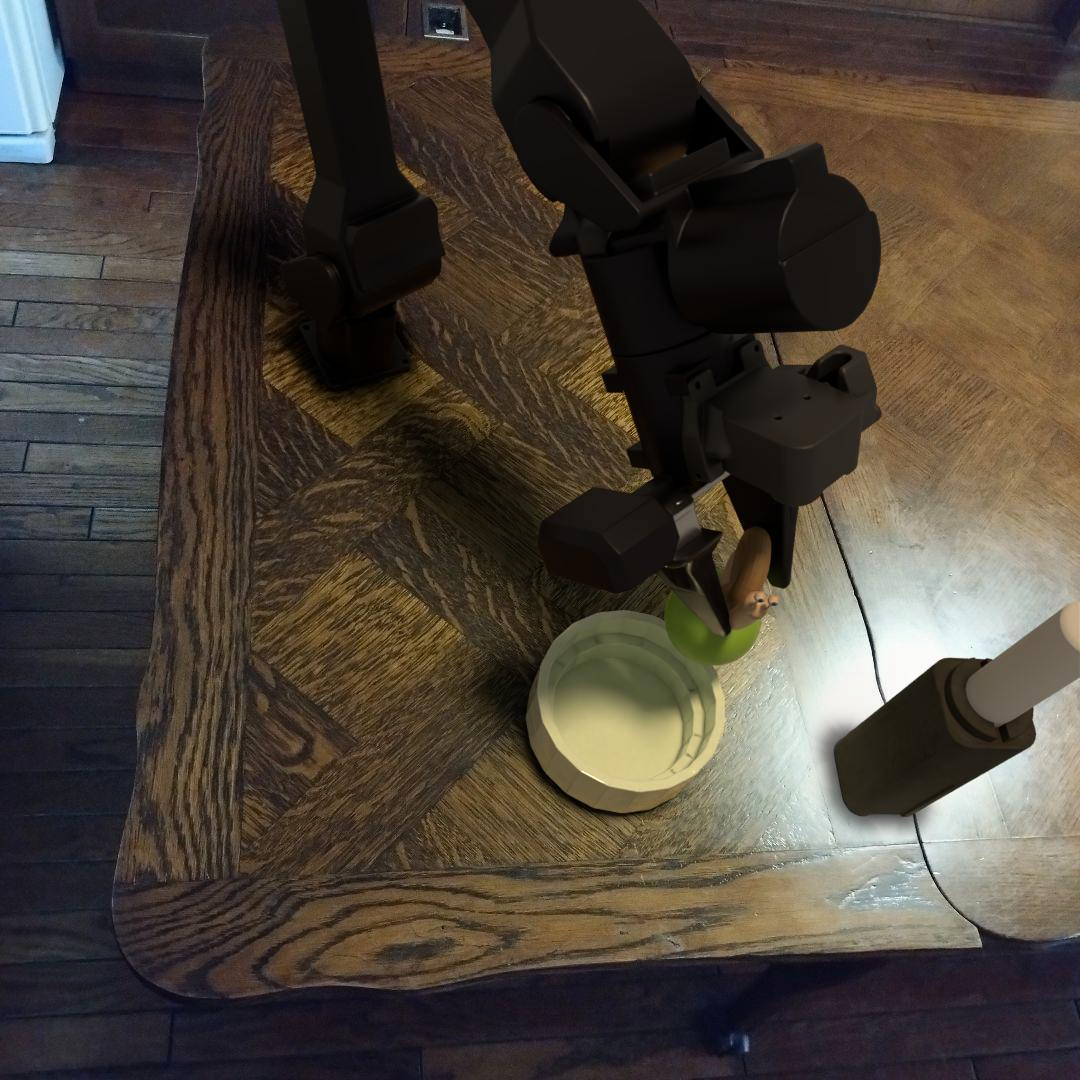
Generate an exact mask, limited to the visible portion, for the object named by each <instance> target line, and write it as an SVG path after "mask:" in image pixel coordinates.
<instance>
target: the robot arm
mask: <svg viewBox="0 0 1080 1080" xmlns="http://www.w3.org/2000/svg"><path fill="white" fill-rule="evenodd" d="M461 1H462V2H463V5H464V6H465V7H466V9H467V10H468V12H469V14H470V15H471V17H472V19H473V21H474V22H475V24H476V26H477V27H478V29H479V31H480V34H481V36H482V38H483V40H484V42H485V44H486V46H487V48H488V51H489V53H490V80H491V81H490V88H491V89H490V90H491V105H492V107H493V110H494V112H495V114H496V116H497V118H498V120H499V122H500V125H501V126H502V128H503V131H504V132H505V134H506V137H507V138H508V140H509V143H510V145H511V147H512V148H513V151H514V153H515V155H516V158H517V161H518V162H519V165H520V167H521V169H522V170H523V172H524V174H526V176H527V178H528V180H529V181H530V183H531V184H532V185H533V186H534V187H535V189H536V191H538V192H539V193H540V194H541V195H542V196H543V197H544V198H545V199H546V200H548V201H549V202H550V203H556V202H559V203H561V204H563V205H564V209H563V213H562V218H561V219H560V222H559V224H558V226H557V228H556V229H555V231H554V232H553V235H552V238H551V240H550V242H549V244H548V252H549V253H550V255H551V256H552V257H553V258H557V259H558V258H564V257H571V256H579V257H580V262H581V264H582V268H583V271H584V274H585V277H586V279H587V283H588V286H589V289H590V293H591V296H592V298H593V301H594V304H595V307H596V310H597V313H598V317H599V320H600V323H601V326H602V329H603V332H604V335H605V338H606V342H607V344H608V348H609V350H610V354H611V357H612V360H613V364H614V365H613V366H611V367H609V368H608V369H606V370H604V371H603V372H601V373H600V376H601V379H602V382H603V385H604V389H605V392H606V393H607V394H624V397H625V400H626V404H627V406H628V409H629V412H630V415H631V419H632V422H633V424H634V427H635V430H636V433H637V437H638V441H637V442H635V443H634V444H632V445H630V446H629V447H627V448H626V449H625V451H626V454H627V457H628V461H629V463H630V466H631V468H635V469H643V470H648V471H649V472H650V475H651V477H652V479H649V480H648V481H647V482H645V483H644V484H642V485H641V486H639V487H638V488H636V489H635V490H633V491H631V492H627V491H621V490H613V489H608V488H602V487H596V486H592V487H591V488H589V489H587V490H586V491H584V492H582V493H581V494H579V496H577V497H575V498H573V499H572V500H570V501H569V502H568V503H566V504H564V505H563V506H561V507H560V508H558V509H557V510H555V511H554V512H552V513H551V514H549V515H548V516H546V517H544V518H543V519H542V520H541V521H540V524H539V528H538V530H537V532H536V533H537V534H536V548H537V550H538V551H537V552H538V553H539V555H540V559H541V560H542V563H543V565H544V568H545V571H546V574H547V575H549V576H551V577H554V578H558V579H561V580H564V581H568V582H572V583H576V584H579V585H583V586H586V587H589V588H593V589H595V590H599V591H602V592H607V593H609V594H613V595H618V594H623V593H627V592H631V591H634V590H635V589H636V588H638V587H639V586H641V585H643V583H645V582H646V581H647V580H649V579H650V578H651V577H653V576H654V575H655V576H656V577H657V578H658V579H660V581H661V582H663V583H664V585H665V586H667V588H669V589H670V591H671V592H672V591H673V592H674V593H675V594H676V595H677V596H678V598H679V599H680V600H681V601H682V602H683V603H684V604H685V605H686V606H687V607H688V608H689V609H690V610H691V611H692V612H693V613H694V614H695V615H696V616H697V617H698V618H699V619H700V620H701V621H702V622H703V623H704V624H705V625H706V626H707V627H708V628H709V629H710V630H711V631H712V632H713V633H715V634H717V635H721V636H724V637H727V636H728V635H729V634H730V633H731V626H730V623H729V612H728V608H727V605H726V601H725V598H724V594H723V591H722V588H721V584H720V581H719V577H718V574H717V571H716V570H717V568H716V564H715V561H714V557H713V554H714V551H715V549H716V548H717V546H718V545H719V543H720V542H721V539H722V537H723V535H724V532H723V531H722V530H716V529H712V528H706V527H705V528H704V527H701V524H700V521H699V518H698V515H697V512H696V502H695V500H696V499H698V498H699V497H701V496H702V495H704V494H705V493H706V492H707V491H710V489H712V488H713V487H715V486H716V485H717V484H719V483H720V482H721V483H722V486H723V487H724V490H725V492H726V494H727V496H728V498H729V501H730V503H731V505H732V507H733V510H734V512H735V513H736V514H735V515H736V516H737V519H738V522H739V524H740V526H741V528H742V531H743V533H744V532H745V531H746V530H747V529H749V528H751V527H761V528H763V529H765V530H766V531H767V533H768V534H769V536H770V540H771V557H770V565H769V571H768V574H767V578H766V580H767V582H768V583H769V584H770V586H772V587H773V588H778V589H781V590H785V589H787V588H788V587H790V585H791V582H792V581H791V580H792V570H793V561H794V550H795V543H796V542H795V541H796V532H797V523H798V514H799V508H800V507H805V506H808V505H810V504H812V503H814V502H815V501H817V500H818V499H819V498H820V497H821V496H822V493H823V492H824V491H825V490H826V489H828V488H829V487H830V486H832V485H833V484H834V483H835V482H837V481H838V480H840V479H841V478H842V477H844V475H845V476H849V475H851V474H852V473H853V472H854V471H855V470H856V469H857V467H858V464H859V456H860V455H859V454H860V447H861V440H862V439H861V438H862V433H864V432H865V431H866V430H868V429H869V428H870V427H872V426H873V425H874V424H876V423H877V422H878V421H879V420H880V419H881V418H882V416H883V412H882V409H881V407H880V406H879V404H877V396H878V386H877V383H876V380H875V377H874V373H873V371H872V368H871V365H870V362H869V359H868V355H867V353H866V352H865V351H862V350H860V349H858V348H857V349H856V348H854V347H851V346H849V345H845V344H842V343H841V344H838V345H836V346H835V347H833V348H832V349H831V350H829V351H828V352H826V353H825V354H823V355H822V356H820V357H819V358H817V359H816V360H815V361H814V362H813V364H801V363H800V364H799V363H798V364H779V365H777V366H776V367H774V368H772V367H771V364H770V363H769V361H768V359H767V358H766V354H765V350H764V347H763V343H762V342H761V341H760V339H757V338H756V334H786V333H812V332H813V333H814V332H836V331H839V330H842V329H846V328H848V327H849V326H851V325H852V324H853V323H855V322H856V321H857V319H859V318H860V316H861V315H862V314H863V313H864V312H865V310H866V309H867V307H868V305H869V303H870V302H871V301H872V298H873V296H874V292H875V289H876V287H877V284H878V281H879V276H880V270H881V263H882V241H881V240H882V238H881V230H880V224H879V220H878V216H877V214H876V212H875V211H874V210H871V209H870V208H869V205H868V203H867V202H866V199H865V197H864V196H863V194H862V193H861V191H860V190H859V189H858V187H857V186H856V185H855V184H853V182H851V181H850V180H849V179H847V178H846V177H845V176H842V175H838V174H835V173H832V172H830V171H829V168H828V163H827V158H826V154H825V149H824V145H822V143H820V142H819V141H813V142H809V143H804V144H799V145H795V146H793V147H791V148H789V149H786V150H784V151H783V152H780V153H778V154H777V155H774V156H771V157H767V158H765V152H764V150H763V149H762V148H761V146H759V145H758V143H757V142H756V141H755V140H754V139H753V138H752V137H751V135H749V134H748V133H747V132H746V131H745V127H744V126H742V125H741V124H739V123H738V122H737V121H736V120H735V118H733V116H732V115H731V114H730V113H729V112H728V111H727V110H726V109H725V108H724V107H723V106H722V104H721V103H720V102H719V101H718V100H717V99H716V98H715V97H714V96H713V95H712V94H711V92H709V90H708V89H707V88H706V87H705V86H704V85H703V84H702V83H701V82H700V81H699V80H698V78H697V77H696V76H695V74H694V72H693V70H692V67H691V65H690V63H689V61H688V59H687V57H686V56H685V55H684V53H683V52H682V51H681V50H680V48H679V47H678V46H677V45H676V43H675V42H674V41H673V40H672V39H671V37H670V36H669V35H668V34H667V31H665V30H664V29H663V27H662V26H661V25H660V24H659V22H658V21H657V20H656V19H655V17H653V15H652V14H651V12H650V11H648V9H647V8H646V7H645V5H644V4H643V3H642V2H641V1H640V0H461ZM276 3H277V4H276V5H277V8H278V13H279V17H280V21H281V26H282V30H283V34H284V39H285V44H286V47H287V53H288V56H289V60H290V64H291V65H290V66H291V70H292V75H293V78H294V82H295V87H296V91H297V95H298V99H299V103H300V108H301V112H302V117H303V121H304V125H305V130H306V134H307V139H308V144H309V147H310V151H311V155H312V160H313V164H314V165H313V166H314V170H315V176H314V180H313V183H312V187H311V190H310V193H309V195H308V199H307V202H306V205H305V208H304V212H303V215H302V218H301V228H302V235H303V240H304V247H305V252H306V253H304V254H301V255H300V256H297V257H295V258H292V259H290V260H287V261H285V262H283V263H281V264H279V268H280V272H281V277H282V279H283V283H284V287H285V291H286V293H287V294H288V295H289V296H290V297H291V298H292V299H293V301H294V302H295V303H296V304H297V305H298V306H299V307H300V308H301V309H302V310H303V311H304V313H305V314H306V315H307V316H308V317H309V318H310V319H311V320H309V321H305V322H302V323H301V324H300V325H299V334H300V335H301V337H302V339H303V341H304V343H305V345H306V347H307V349H308V351H309V353H310V354H311V355H310V356H312V358H313V360H314V363H315V364H316V366H317V369H318V370H319V372H320V374H321V376H322V377H323V380H324V381H325V383H326V386H327V387H328V388H329V389H330V390H331V391H340V390H343V389H347V388H350V387H353V386H357V385H360V384H364V383H367V382H368V383H369V382H371V381H374V380H378V379H382V378H385V377H388V376H392V375H395V374H399V373H403V372H405V371H406V372H407V371H408V370H410V369H411V368H412V364H413V363H412V359H411V358H410V356H409V353H407V351H406V349H405V347H404V345H403V344H402V342H401V340H400V338H399V336H398V335H397V333H396V323H397V308H398V301H399V300H401V299H404V298H406V297H407V296H409V295H412V294H413V293H416V292H417V291H420V290H422V289H424V288H426V287H428V286H430V285H432V284H433V283H434V281H435V280H436V279H437V277H438V276H440V275H441V272H442V265H443V262H442V261H443V260H442V259H443V257H445V256H446V255H447V253H446V250H445V246H444V245H443V242H442V238H441V233H440V227H439V211H438V206H437V204H436V203H435V201H434V200H433V198H431V197H430V196H427V195H424V194H423V195H422V194H421V193H420V191H419V190H418V189H417V187H415V185H414V184H413V183H412V182H411V180H409V179H408V178H407V176H405V174H404V173H403V172H402V171H401V170H400V168H399V165H398V162H397V159H396V152H395V146H394V140H393V135H392V129H391V123H390V117H389V111H388V106H387V100H386V94H385V87H384V82H383V76H382V71H381V64H380V59H379V53H378V48H377V42H376V35H375V30H374V24H373V18H372V13H371V7H370V1H369V0H276Z"/></svg>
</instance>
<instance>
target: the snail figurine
mask: <svg viewBox="0 0 1080 1080" xmlns="http://www.w3.org/2000/svg"><path fill="white" fill-rule="evenodd" d="M770 557H771V540H770V536H769V534H768V533H767V531H766V530H765V529H763V528H761V527H751V528H749V529H747V530H746V531H745V532H744V531H743V533H742V535H741V536H740V538H739V539H738V542H737V545H736V548H735V549H734V550H733V551H732V552H731V554H730V556H729V557H728V559H727V561H726V564H725V566H724V568H723V570H720V569H716V571H717V574H718V577H719V581H720V584H721V588H722V591H723V594H724V598H725V601H726V605H727V608H728V612H729V623H730V626H731V633H730V634H729V635H728V636H727V637H724V636H721V635H717V634H715V633H713V632H712V631H711V630H710V629H709V628H708V627H707V626H706V625H705V624H704V623H703V622H702V621H701V620H700V619H699V618H698V617H697V616H696V615H695V614H694V613H693V612H692V611H691V610H690V609H689V608H688V607H687V606H686V605H685V604H684V603H683V602H682V601H681V600H680V599H679V598H678V596H677V595H676V594H675V593H674V592H673V591H672V590H671V593H670V594H669V595H668V596H669V597H668V598H667V600H666V605H665V608H664V618H663V619H664V620H663V621H665V627H666V631H667V634H668V637H669V639H670V641H671V642H672V644H673V645H674V647H675V648H676V649H677V650H678V651H679V652H680V653H681V654H682V655H683V656H685V657H686V658H688V659H689V660H691V661H693V662H696V663H699V664H702V665H708V666H713V667H719V666H724V665H728V664H731V663H734V662H736V661H738V660H739V659H741V658H743V657H744V656H745V655H746V654H747V653H749V651H750V650H751V649H752V648H753V646H754V645H755V644H756V641H757V639H758V637H759V635H760V632H761V627H762V619H763V618H764V617H766V615H767V614H768V612H769V609H770V607H776V606H778V605H779V603H780V598H779V597H778V596H777V595H776V594H771V595H769V596H768V597H767V595H766V594H765V592H763V591H762V589H763V588H764V586H765V583H766V581H767V574H768V571H769V565H770Z"/></svg>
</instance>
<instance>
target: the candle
mask: <svg viewBox="0 0 1080 1080" xmlns="http://www.w3.org/2000/svg"><path fill="white" fill-rule="evenodd" d="M1078 679H1080V600H1075V601H1073V602H1070V603H1067V604H1066V605H1065V606H1063V607H1062V608H1060V609H1059V610H1058V611H1057V612H1055V613H1054V614H1052V615H1051V616H1050V617H1049V618H1047V619H1046V620H1044V621H1043V622H1042V623H1041V624H1039V625H1037V626H1036V627H1035V628H1033V629H1032V630H1031V631H1029V633H1027V634H1025V635H1024V636H1023V637H1022V638H1020V639H1019V640H1017V641H1016V642H1014V643H1013V644H1012V645H1011V646H1009V647H1008V648H1006V649H1005V650H1004V651H1002V652H1001V653H1000V654H998V655H997V656H995V658H989V657H985V658H976V657H969V658H968V657H942V658H940V659H938V660H937V661H936V662H934V663H933V664H932V665H931V666H929V668H927V669H925V671H924V672H922V673H921V674H920V675H918V677H916V678H915V679H914V680H912V681H911V682H910V683H908V685H906V686H905V687H904V688H902V689H901V690H900V691H899V692H898V693H896V694H895V695H894V696H892V697H891V698H890V699H889V700H888V701H886V702H885V703H884V704H883V705H881V706H880V707H879V708H878V709H877V710H875V711H874V712H872V713H871V714H870V715H869V716H868V717H867V718H865V719H864V720H863V721H861V722H860V723H859V724H858V725H856V726H855V727H853V729H852V730H850V731H849V732H848V733H847V734H846V735H844V736H843V737H842V738H840V739H839V740H838V741H837V742H836V744H835V746H834V758H835V764H836V769H837V774H838V778H839V784H840V788H841V795H842V798H843V801H844V804H845V805H846V807H847V808H848V809H849V810H850V811H851V812H852V813H854V814H855V815H857V816H860V817H867V816H868V815H870V814H893V815H895V814H897V815H899V814H900V815H901V816H902V817H904V818H905V817H910V816H912V815H914V814H916V813H918V812H920V811H922V810H923V809H925V808H927V807H928V806H930V805H932V804H934V803H935V802H937V801H939V800H941V799H943V798H944V797H945V796H948V795H949V794H951V793H953V792H955V791H956V790H958V789H960V788H962V787H964V786H966V785H967V784H969V783H971V782H972V781H974V780H975V779H977V778H979V777H981V776H983V775H984V774H986V773H988V772H989V771H991V770H993V769H994V768H995V769H996V767H998V766H1000V765H1001V764H1003V763H1005V762H1007V761H1009V760H1011V759H1012V758H1014V757H1016V756H1017V755H1019V754H1021V753H1023V752H1024V751H1027V750H1028V749H1030V748H1031V747H1032V746H1033V745H1034V744H1035V741H1036V740H1037V739H1036V738H1037V730H1036V726H1035V723H1034V711H1035V708H1034V707H1036V706H1037V705H1039V704H1040V703H1042V702H1043V701H1045V700H1047V699H1049V698H1050V697H1051V696H1053V695H1055V694H1056V693H1058V692H1059V691H1061V690H1062V689H1065V688H1066V687H1067V686H1069V685H1071V684H1072V683H1074V682H1076V681H1077V680H1078Z"/></svg>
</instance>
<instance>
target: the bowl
mask: <svg viewBox="0 0 1080 1080" xmlns="http://www.w3.org/2000/svg"><path fill="white" fill-rule="evenodd" d="M725 719H726V698H725V694H724V692H723V688H722V684H721V681H720V677H719V674H718V672H717V670H716V668H715V666H708V665H702V664H699V663H696V662H693V661H691V660H689V659H688V658H686V657H685V656H683V655H682V654H681V653H680V652H679V651H678V650H677V649H676V648H675V647H674V645H673V644H672V642H671V641H670V639H669V637H668V634H667V631H666V627H665V620H663V619H662V618H660V617H657V616H655V615H652V614H648V613H643V612H637V611H633V610H628V609H623V610H612V611H600V612H596V613H593V614H591V615H589V616H586V617H584V618H582V619H579V620H577V621H574V622H573V623H571V624H570V625H569V626H568V627H567V628H566V629H565V630H563V632H562V633H560V634H559V635H558V636H556V637H555V639H554V640H553V641H552V642H551V644H550V646H549V648H548V650H547V652H546V654H545V656H544V658H543V660H542V661H541V663H540V665H539V668H538V670H537V673H536V675H535V677H534V681H533V682H532V685H531V688H530V690H529V693H528V699H527V707H526V711H525V721H526V727H527V728H526V729H527V734H528V738H529V739H528V740H529V745H530V747H531V749H532V751H533V753H534V755H535V757H536V759H537V761H538V763H539V764H540V767H541V769H542V770H543V772H545V774H546V775H547V776H548V777H549V778H550V779H551V780H552V781H553V782H554V783H555V784H556V785H557V786H558V787H559V789H561V790H562V791H563V792H564V793H566V794H567V795H568V796H570V797H572V798H574V799H575V800H577V801H580V802H581V803H583V804H585V805H587V806H589V807H591V808H593V809H598V810H604V811H608V812H614V813H618V814H627V813H634V812H640V811H641V812H642V811H648V810H649V811H650V810H652V809H654V808H656V807H658V806H659V805H661V804H664V803H666V802H667V801H669V800H671V799H673V798H675V797H676V796H677V795H678V794H679V793H680V792H681V791H682V790H683V789H684V788H686V786H687V785H688V784H689V783H690V781H692V780H693V778H695V776H696V775H697V774H698V773H700V771H701V770H702V769H703V768H704V767H705V766H706V764H708V762H709V761H710V760H711V759H712V758H713V757H714V755H715V754H716V751H717V749H718V746H719V744H720V742H721V740H722V739H721V738H722V736H723V734H724V732H725Z"/></svg>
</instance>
